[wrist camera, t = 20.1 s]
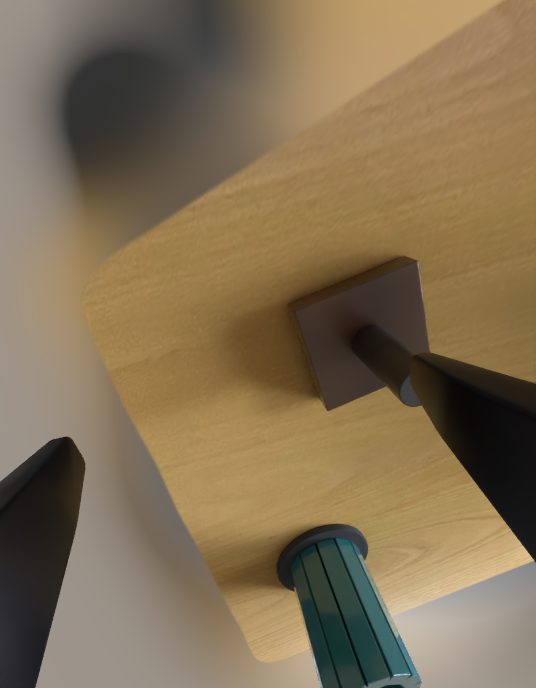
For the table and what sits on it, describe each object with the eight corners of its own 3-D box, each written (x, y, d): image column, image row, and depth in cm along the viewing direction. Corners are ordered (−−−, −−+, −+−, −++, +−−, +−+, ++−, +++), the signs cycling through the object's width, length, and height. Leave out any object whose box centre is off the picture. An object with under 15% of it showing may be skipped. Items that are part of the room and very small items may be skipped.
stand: (320, 399, 25) (364, 471, 19) (287, 303, 22) (329, 353, 15) (419, 357, 26) (494, 414, 19) (404, 255, 22) (491, 285, 16)
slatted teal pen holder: (276, 568, 32) (312, 718, 23) (337, 527, 31) (398, 665, 22) (313, 594, 35) (357, 735, 26) (369, 557, 34) (434, 689, 25)
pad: (266, 589, 34) (267, 596, 33) (291, 524, 31) (293, 530, 30) (347, 583, 37) (349, 589, 36) (378, 523, 33) (381, 528, 33)
